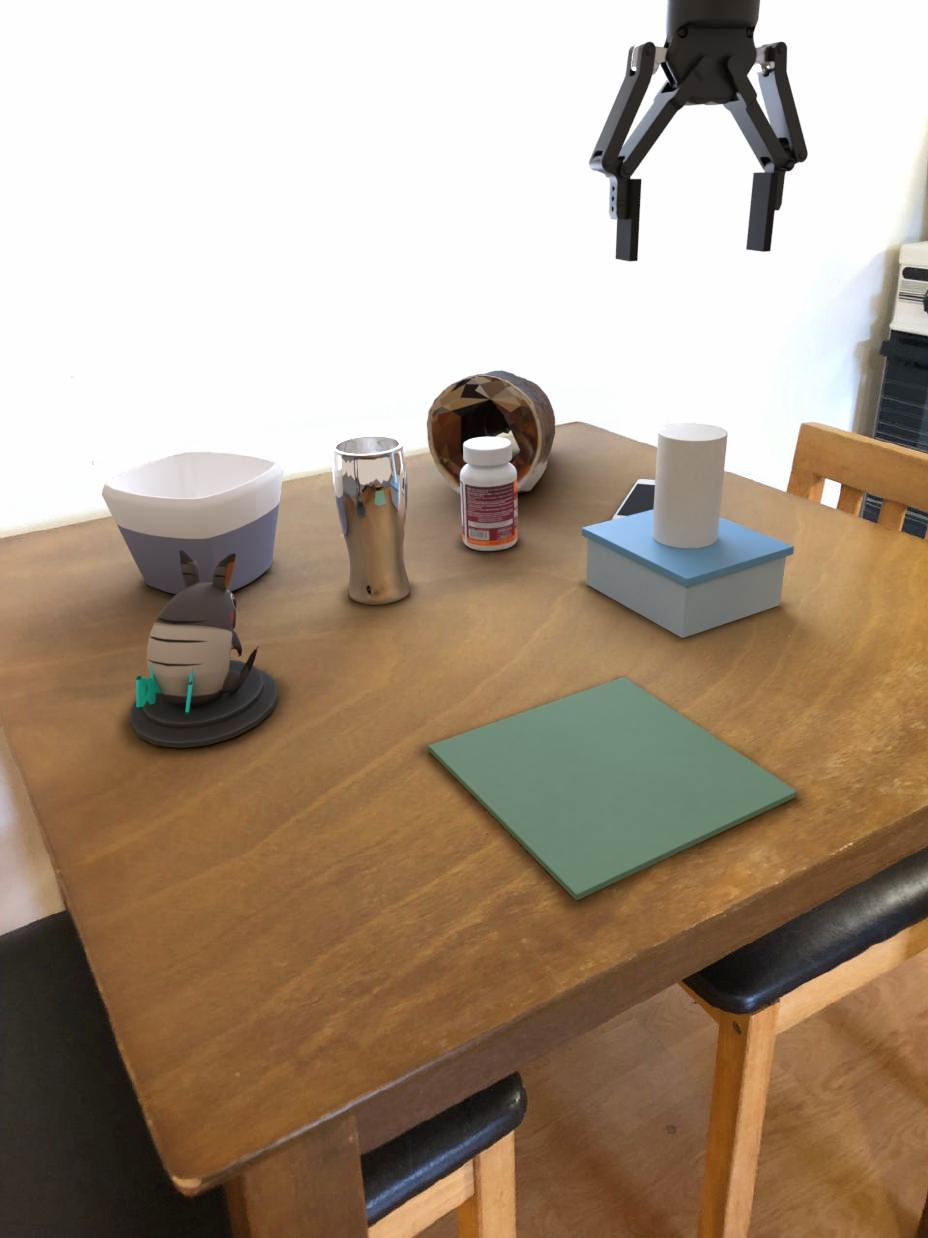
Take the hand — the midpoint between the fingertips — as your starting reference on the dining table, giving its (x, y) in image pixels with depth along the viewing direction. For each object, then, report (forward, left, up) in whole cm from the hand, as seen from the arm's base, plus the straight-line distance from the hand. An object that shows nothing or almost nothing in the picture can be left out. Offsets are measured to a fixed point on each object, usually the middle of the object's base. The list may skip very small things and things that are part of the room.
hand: (693, 255), depth 85 cm
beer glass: (+10, +29, -30) cm, 43 cm away
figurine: (-2, +50, -30) cm, 59 cm away
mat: (-26, +29, -30) cm, 49 cm away
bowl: (+24, +42, -30) cm, 57 cm away
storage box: (-7, +5, -30) cm, 31 cm away
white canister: (-7, +5, -24) cm, 25 cm away
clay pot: (+35, -2, -30) cm, 46 cm away
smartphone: (+13, -9, -30) cm, 34 cm away
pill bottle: (+15, +13, -30) cm, 36 cm away
